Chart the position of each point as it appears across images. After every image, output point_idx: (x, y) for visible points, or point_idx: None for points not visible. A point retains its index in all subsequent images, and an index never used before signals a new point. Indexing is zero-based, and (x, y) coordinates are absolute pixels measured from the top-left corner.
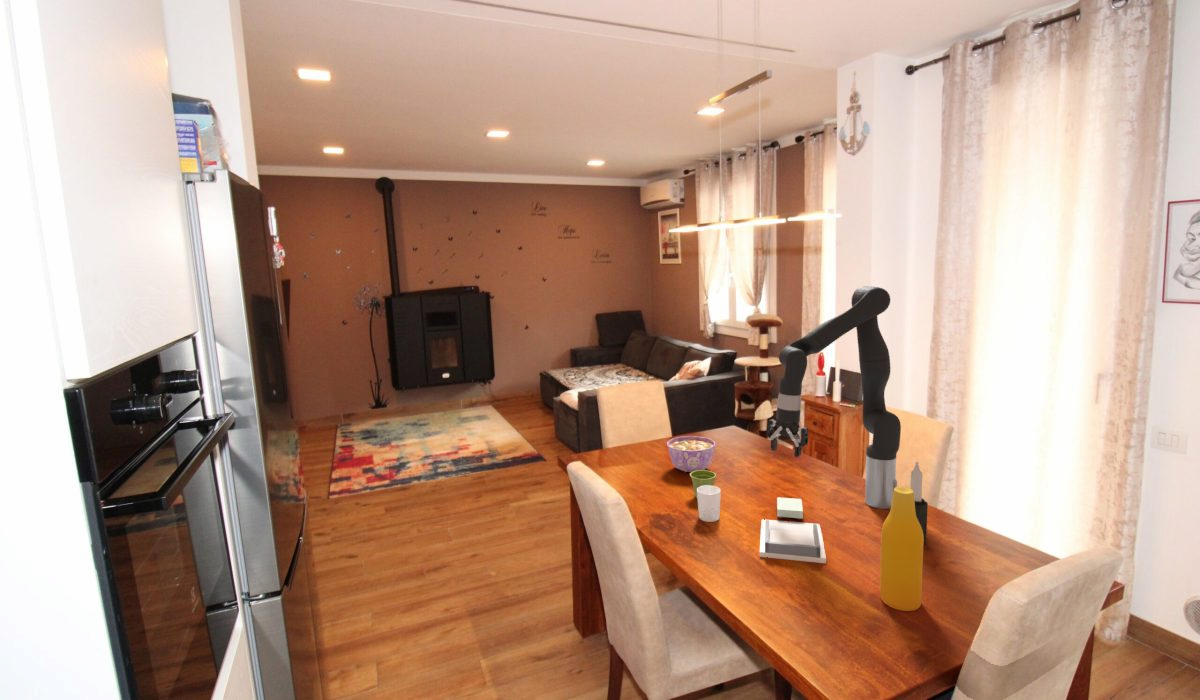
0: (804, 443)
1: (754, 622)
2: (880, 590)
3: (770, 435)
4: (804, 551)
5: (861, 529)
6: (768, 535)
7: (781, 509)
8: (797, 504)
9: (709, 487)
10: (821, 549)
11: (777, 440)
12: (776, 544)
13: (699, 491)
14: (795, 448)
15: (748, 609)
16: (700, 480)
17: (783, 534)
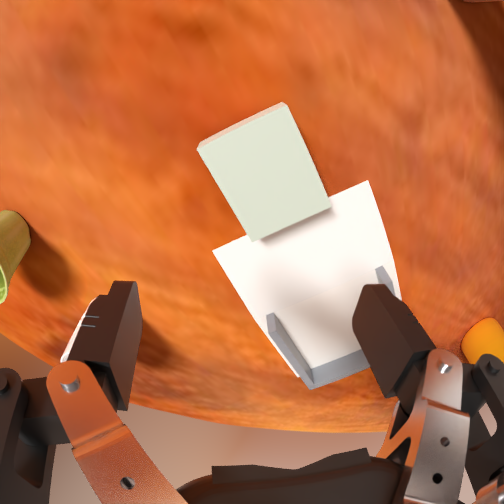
0: (474, 415)
1: (339, 430)
2: (465, 354)
3: (59, 435)
4: None
5: (459, 152)
6: (305, 373)
7: (264, 235)
8: (294, 164)
9: (69, 350)
10: None
11: (112, 355)
12: (330, 381)
13: None
14: (383, 382)
15: (327, 426)
16: (1, 296)
17: (313, 312)
